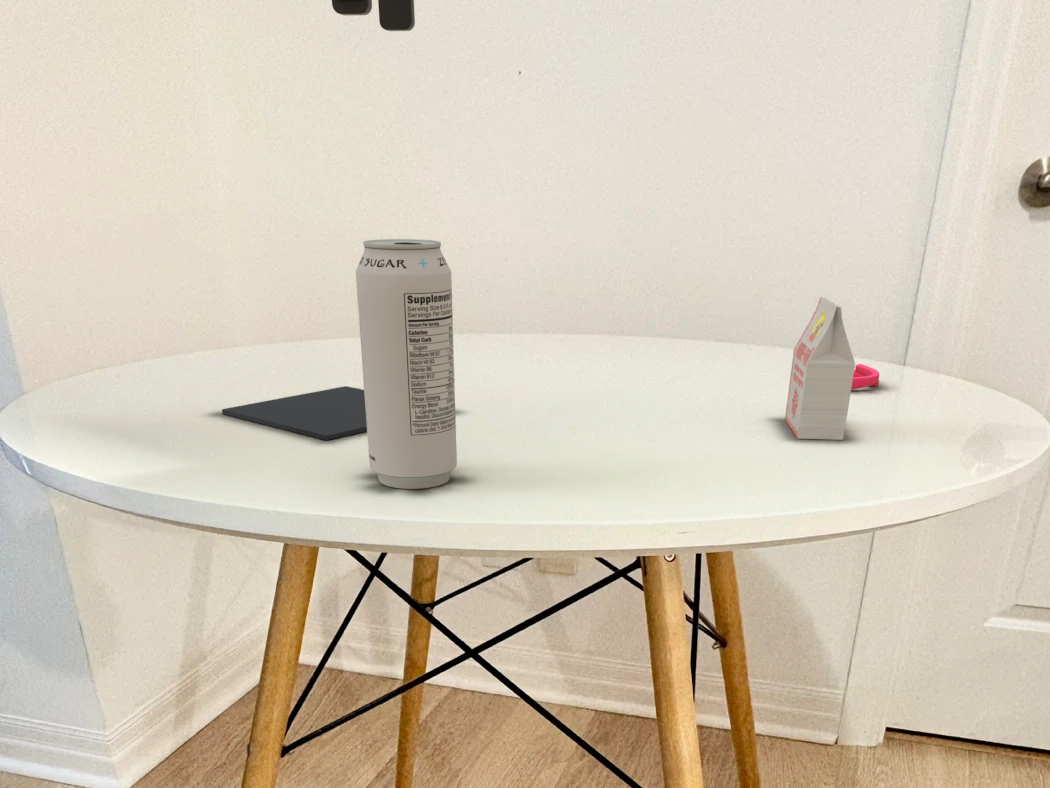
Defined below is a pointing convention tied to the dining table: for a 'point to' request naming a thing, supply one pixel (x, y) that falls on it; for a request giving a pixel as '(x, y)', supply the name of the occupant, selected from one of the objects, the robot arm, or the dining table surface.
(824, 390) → the milk carton
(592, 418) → the dining table surface
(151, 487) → the dining table surface
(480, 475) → the dining table surface
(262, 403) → the slate mat
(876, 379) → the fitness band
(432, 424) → the energy drink can
